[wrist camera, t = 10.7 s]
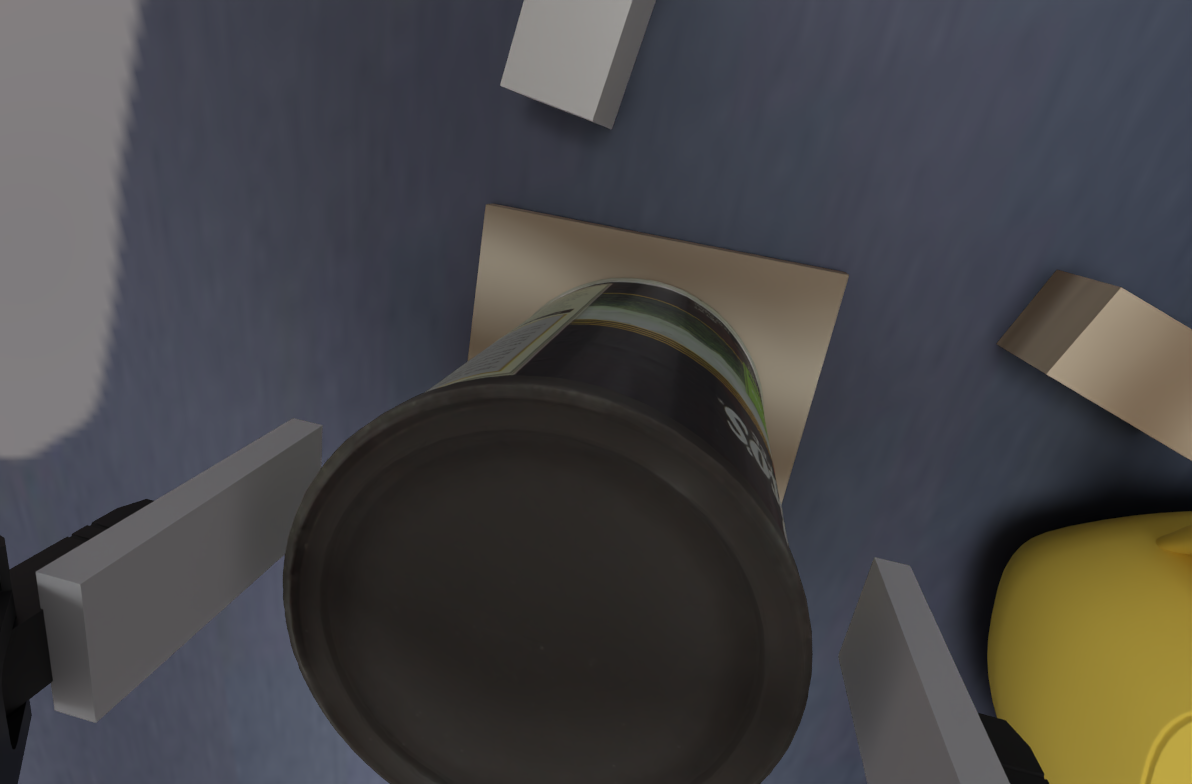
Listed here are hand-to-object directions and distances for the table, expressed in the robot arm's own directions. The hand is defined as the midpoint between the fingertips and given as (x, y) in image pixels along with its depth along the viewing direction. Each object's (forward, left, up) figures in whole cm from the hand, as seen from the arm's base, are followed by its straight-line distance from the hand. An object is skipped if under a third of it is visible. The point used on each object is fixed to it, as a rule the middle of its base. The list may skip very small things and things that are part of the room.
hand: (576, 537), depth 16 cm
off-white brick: (-13, -4, -12) cm, 17 cm away
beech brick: (-5, +15, -12) cm, 20 cm away
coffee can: (0, 0, -11) cm, 11 cm away
